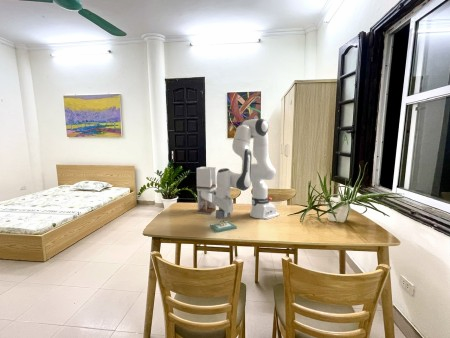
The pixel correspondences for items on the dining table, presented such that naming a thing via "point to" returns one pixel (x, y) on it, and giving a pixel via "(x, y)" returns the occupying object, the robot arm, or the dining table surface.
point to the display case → (206, 189)
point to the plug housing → (221, 214)
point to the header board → (223, 227)
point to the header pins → (223, 223)
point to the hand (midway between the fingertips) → (223, 215)
